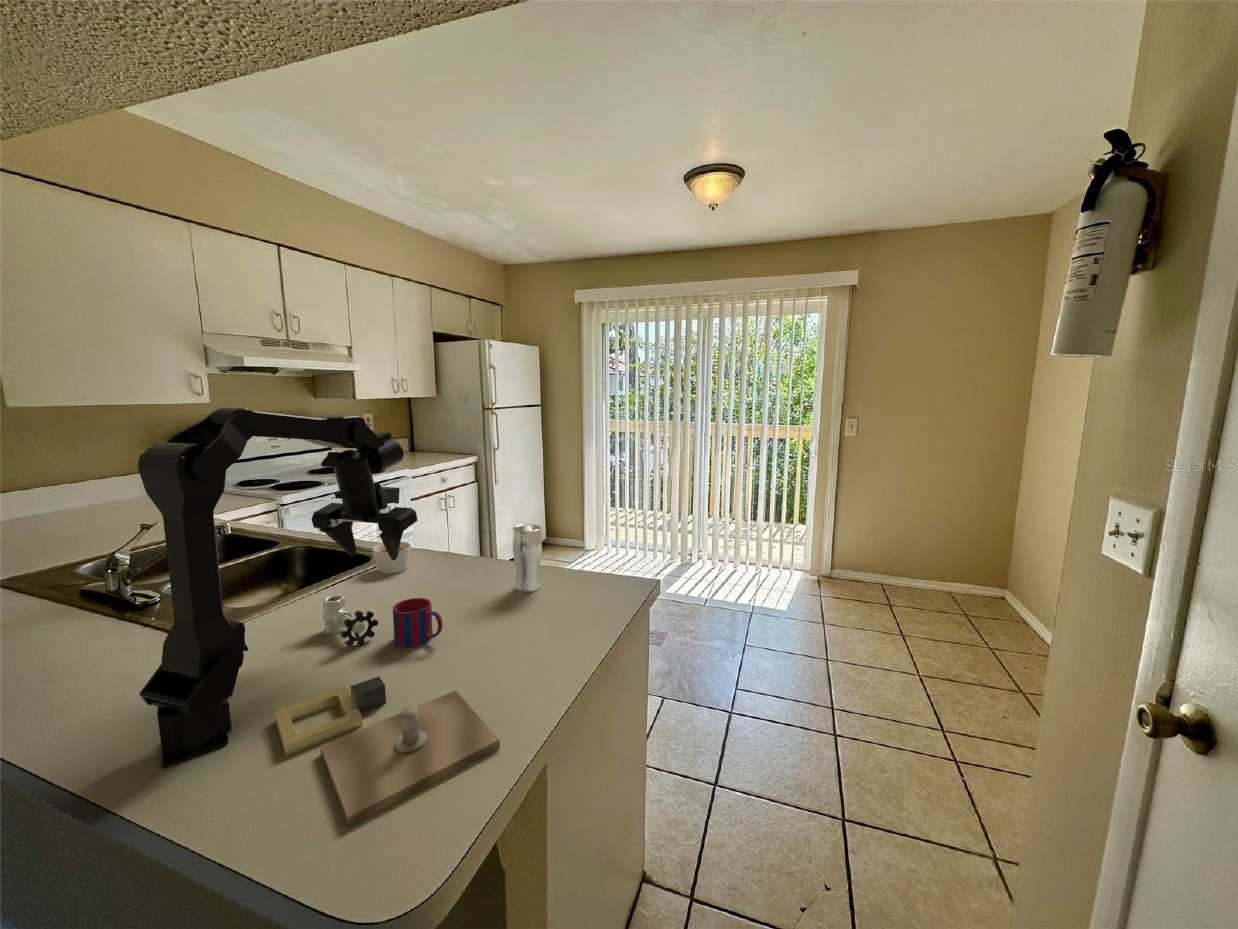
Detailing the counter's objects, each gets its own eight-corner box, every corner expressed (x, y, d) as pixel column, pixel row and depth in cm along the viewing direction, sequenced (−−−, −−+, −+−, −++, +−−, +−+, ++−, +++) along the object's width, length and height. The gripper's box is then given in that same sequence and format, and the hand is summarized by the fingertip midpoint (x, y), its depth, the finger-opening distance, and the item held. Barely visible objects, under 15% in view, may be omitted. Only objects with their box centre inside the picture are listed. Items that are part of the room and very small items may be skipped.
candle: (387, 578, 121) (386, 554, 120) (366, 571, 125) (365, 548, 124) (418, 568, 128) (417, 545, 127) (398, 561, 133) (397, 539, 132)
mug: (416, 627, 96) (414, 595, 95) (452, 639, 91) (451, 606, 90) (386, 642, 90) (384, 608, 89) (423, 656, 85) (422, 620, 84)
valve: (312, 634, 93) (343, 653, 86) (310, 601, 92) (341, 618, 85) (348, 621, 98) (379, 638, 91) (345, 590, 97) (377, 605, 90)
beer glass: (507, 591, 114) (506, 530, 112) (521, 580, 121) (521, 522, 119) (534, 595, 112) (533, 533, 110) (547, 584, 119) (546, 525, 117)
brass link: (285, 756, 61) (283, 735, 61) (275, 721, 68) (273, 701, 68) (392, 713, 70) (391, 694, 70) (374, 685, 77) (373, 667, 76)
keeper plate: (348, 827, 52) (344, 780, 51) (321, 754, 62) (317, 714, 61) (499, 747, 63) (499, 708, 63) (455, 697, 74) (454, 663, 73)
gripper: (427, 469, 93) (440, 540, 98) (345, 465, 97) (362, 534, 102) (389, 491, 82) (406, 570, 88) (299, 486, 86) (321, 561, 92)
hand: (374, 557), depth 92 cm, fingers open, 9 cm apart
